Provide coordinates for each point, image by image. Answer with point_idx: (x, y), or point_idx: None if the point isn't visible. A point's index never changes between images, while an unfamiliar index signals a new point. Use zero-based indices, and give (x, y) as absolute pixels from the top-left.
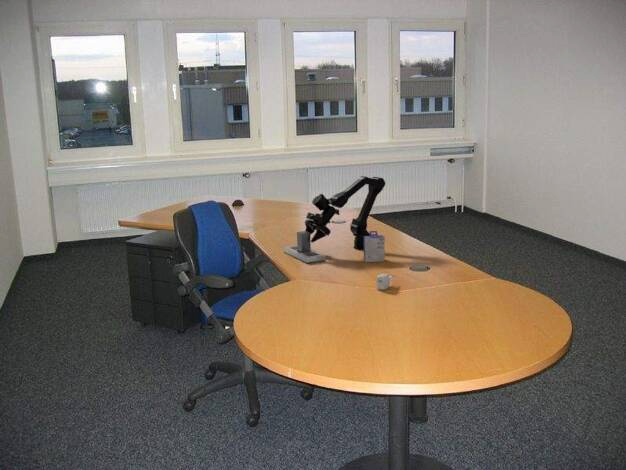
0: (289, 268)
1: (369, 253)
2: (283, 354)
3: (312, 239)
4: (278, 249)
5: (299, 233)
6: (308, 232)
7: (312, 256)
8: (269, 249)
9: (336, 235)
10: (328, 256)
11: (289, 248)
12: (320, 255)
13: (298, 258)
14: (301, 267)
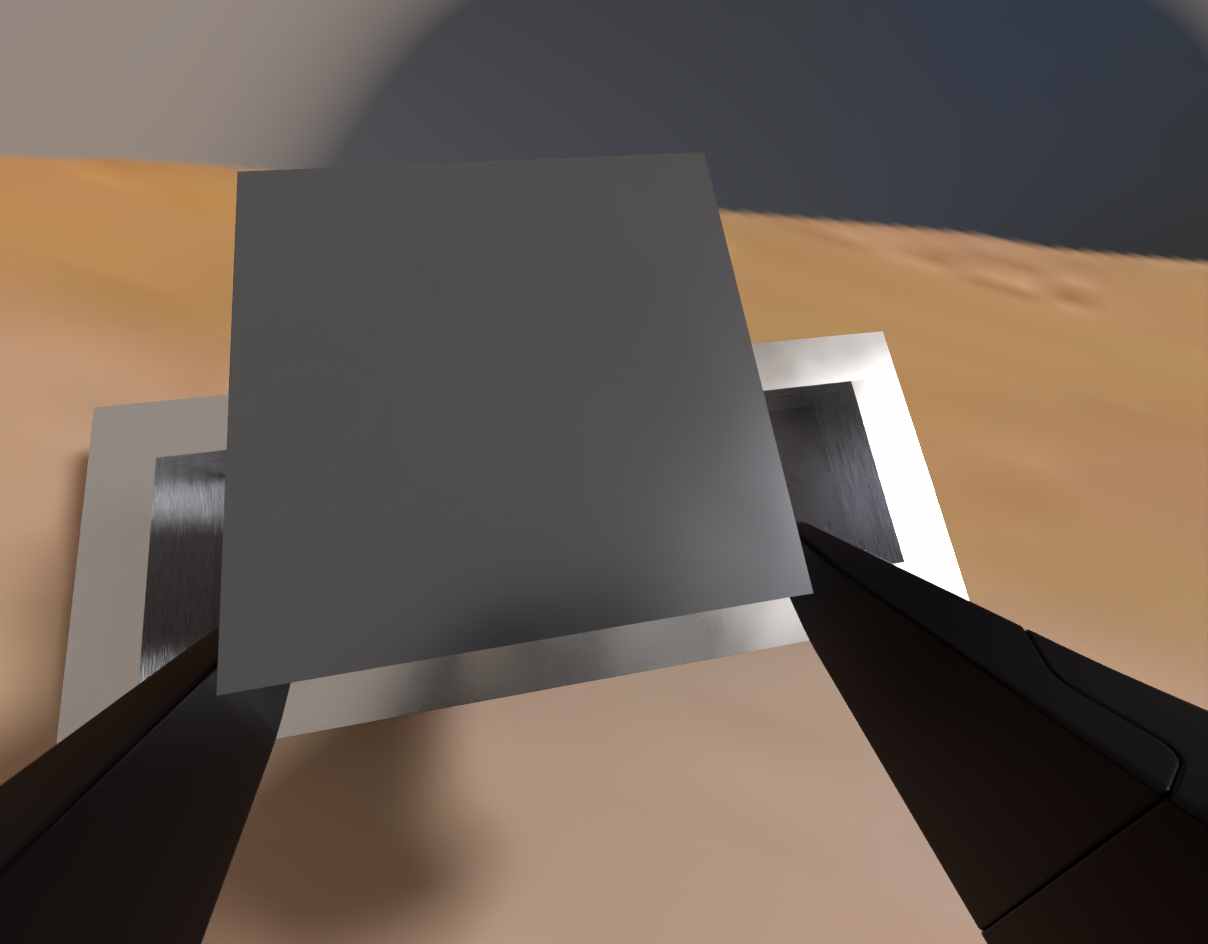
0: (118, 205)
1: None
2: None
3: (172, 661)
4: (1007, 357)
5: (438, 174)
6: (348, 609)
7: (118, 523)
8: (1024, 275)
9: None
10: (407, 896)
11: (787, 367)
12: (87, 683)
13: None
14: (64, 329)
